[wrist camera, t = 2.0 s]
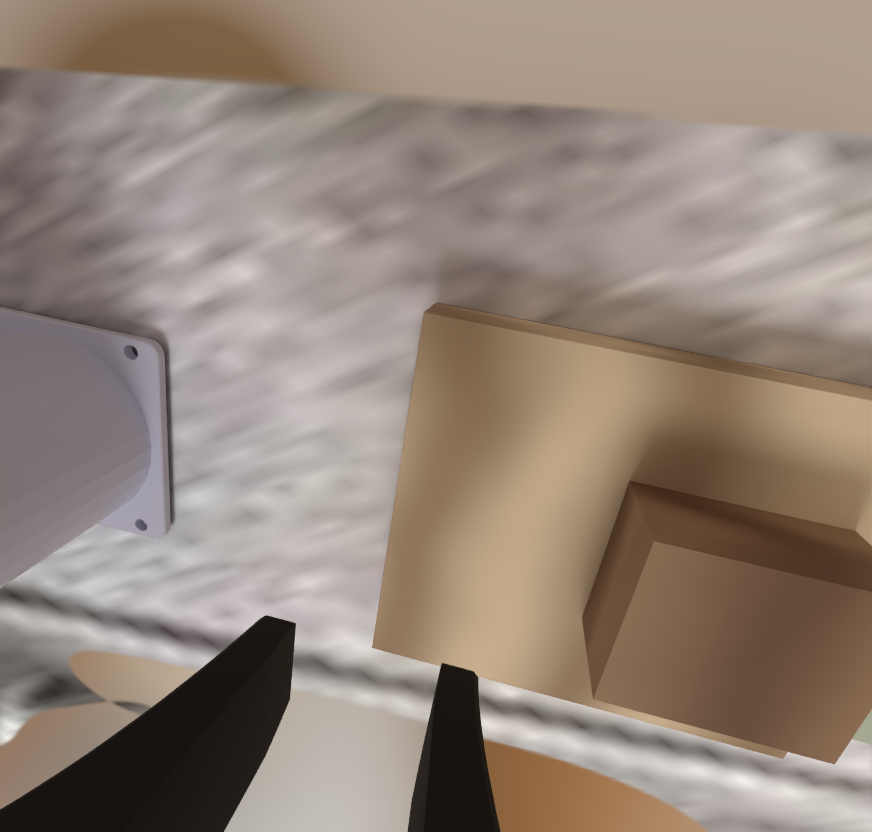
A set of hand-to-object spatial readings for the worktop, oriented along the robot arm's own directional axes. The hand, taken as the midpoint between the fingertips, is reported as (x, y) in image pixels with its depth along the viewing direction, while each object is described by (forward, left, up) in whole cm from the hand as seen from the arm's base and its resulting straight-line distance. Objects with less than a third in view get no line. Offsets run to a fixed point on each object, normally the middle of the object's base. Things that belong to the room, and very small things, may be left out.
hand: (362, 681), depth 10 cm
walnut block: (+8, 0, -6) cm, 11 cm away
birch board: (+6, 0, -8) cm, 10 cm away
